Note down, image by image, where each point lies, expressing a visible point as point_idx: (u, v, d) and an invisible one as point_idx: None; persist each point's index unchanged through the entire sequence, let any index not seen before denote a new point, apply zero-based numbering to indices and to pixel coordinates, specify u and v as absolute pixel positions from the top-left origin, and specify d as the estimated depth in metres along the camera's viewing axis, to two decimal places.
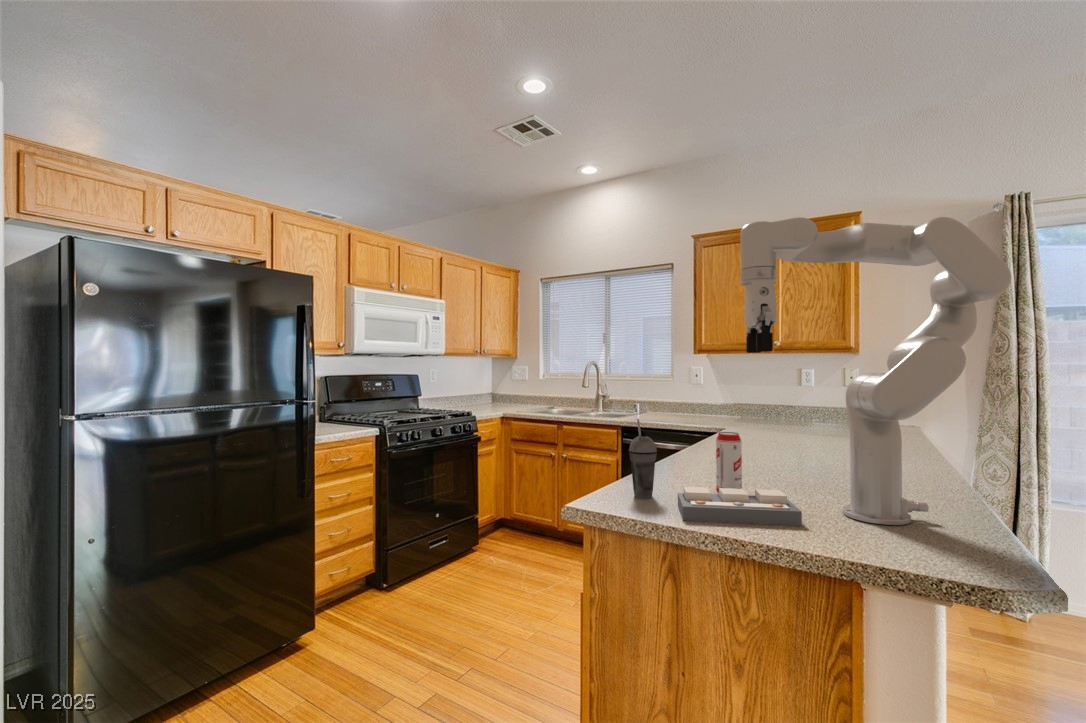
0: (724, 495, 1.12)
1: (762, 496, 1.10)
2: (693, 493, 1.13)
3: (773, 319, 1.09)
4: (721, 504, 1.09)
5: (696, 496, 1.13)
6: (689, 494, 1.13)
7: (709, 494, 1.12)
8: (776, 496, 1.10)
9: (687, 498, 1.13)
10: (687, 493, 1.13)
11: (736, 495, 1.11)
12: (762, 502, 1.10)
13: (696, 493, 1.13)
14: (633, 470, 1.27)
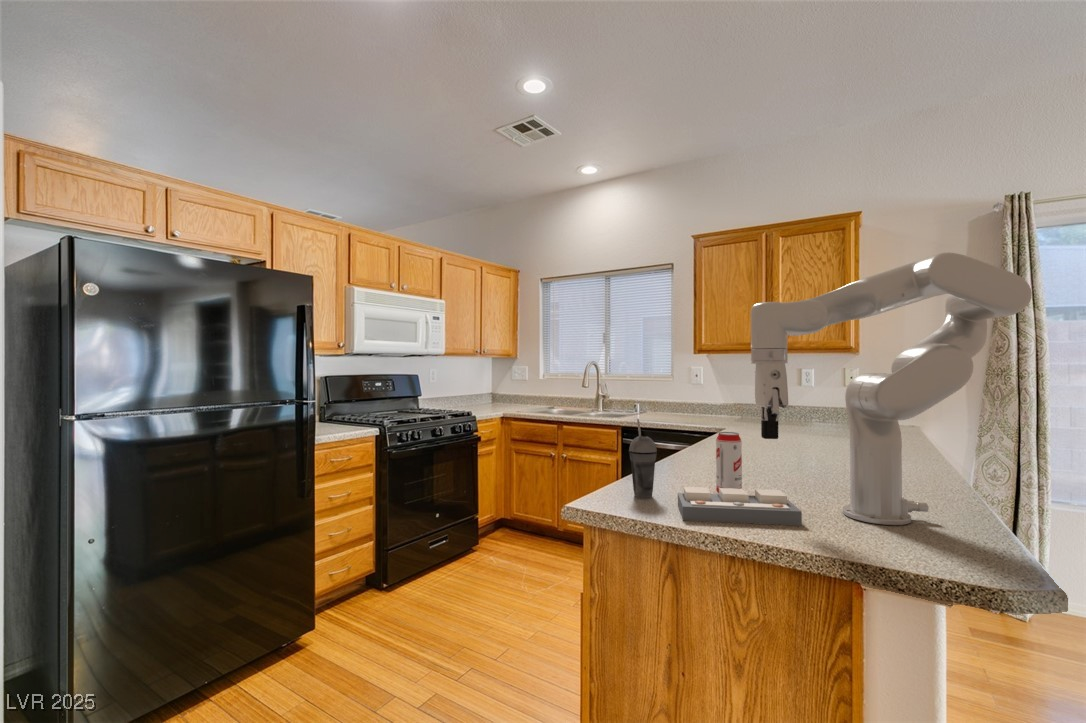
0: (724, 495, 1.12)
1: (762, 496, 1.10)
2: (693, 493, 1.13)
3: (785, 403, 1.08)
4: (721, 504, 1.09)
5: (696, 496, 1.13)
6: (689, 494, 1.13)
7: (709, 494, 1.12)
8: (776, 496, 1.10)
9: (687, 498, 1.13)
10: (687, 493, 1.13)
11: (736, 495, 1.11)
12: (762, 502, 1.10)
13: (696, 493, 1.13)
14: (633, 470, 1.27)
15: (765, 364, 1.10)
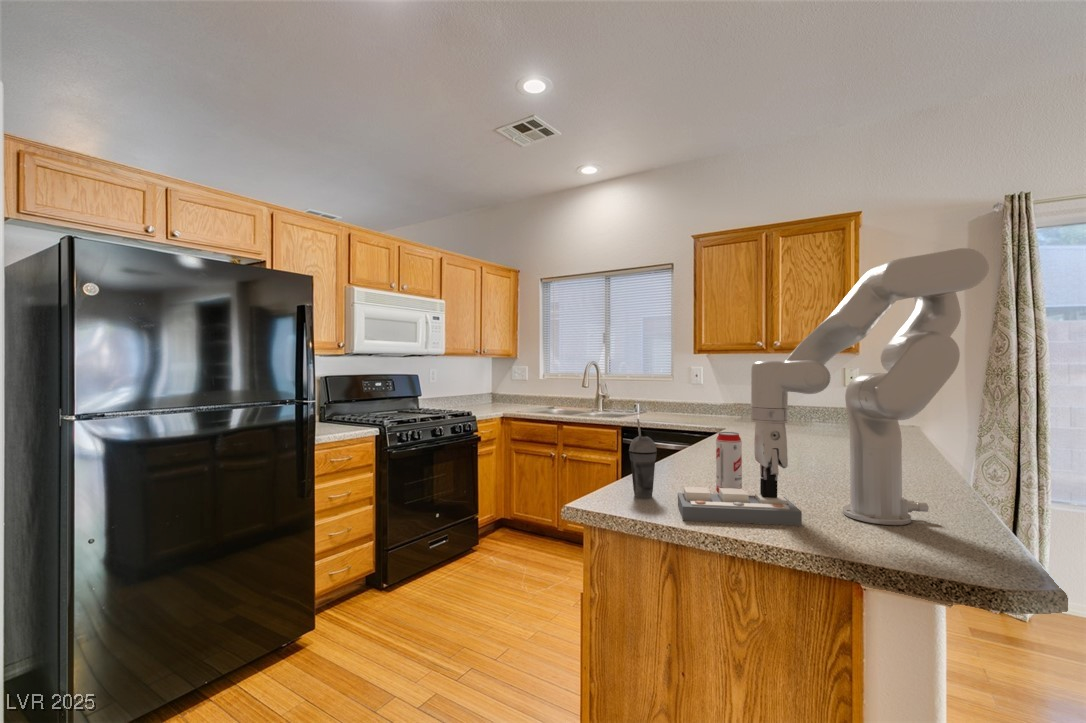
0: (724, 495, 1.12)
1: (762, 500, 1.10)
2: (693, 493, 1.13)
3: (784, 464, 1.08)
4: (721, 504, 1.09)
5: (696, 496, 1.13)
6: (689, 494, 1.13)
7: (709, 494, 1.12)
8: (776, 500, 1.10)
9: (687, 498, 1.13)
10: (687, 493, 1.13)
11: (736, 495, 1.11)
12: None
13: (696, 493, 1.13)
14: (633, 470, 1.27)
15: (765, 424, 1.09)
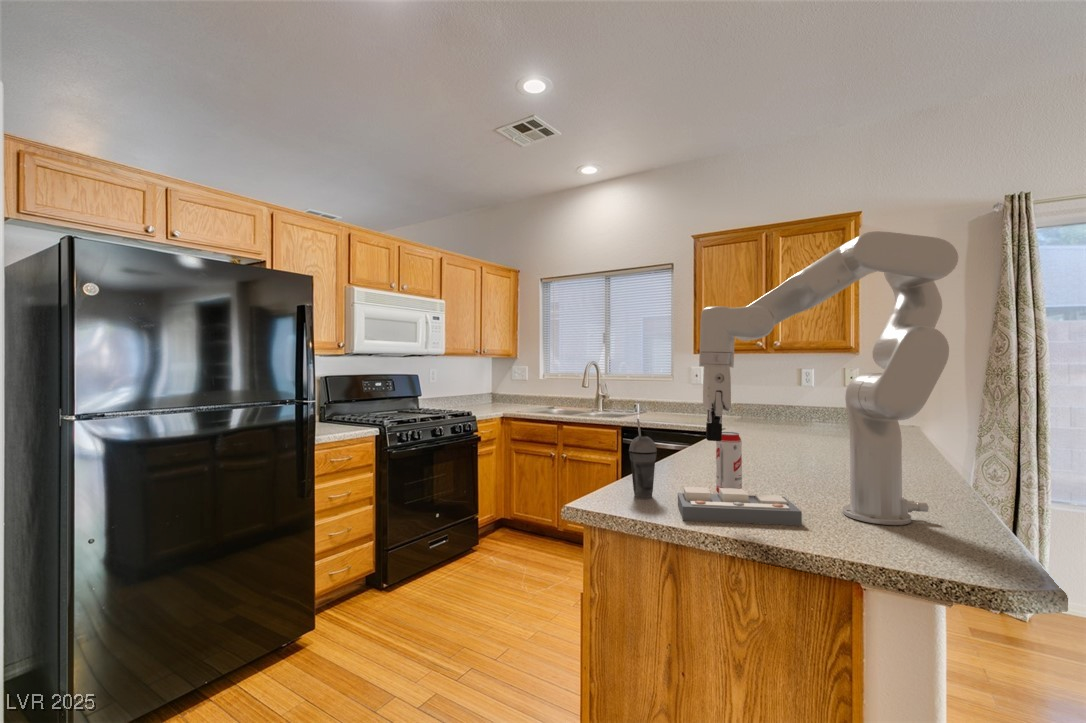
0: (724, 495, 1.12)
1: (762, 501, 1.10)
2: (693, 493, 1.13)
3: (727, 406, 1.10)
4: (721, 504, 1.09)
5: (696, 496, 1.13)
6: (689, 494, 1.13)
7: (709, 494, 1.12)
8: (776, 501, 1.10)
9: (687, 498, 1.13)
10: (687, 493, 1.13)
11: (736, 495, 1.11)
12: None
13: (696, 493, 1.13)
14: (633, 470, 1.27)
15: (710, 367, 1.12)
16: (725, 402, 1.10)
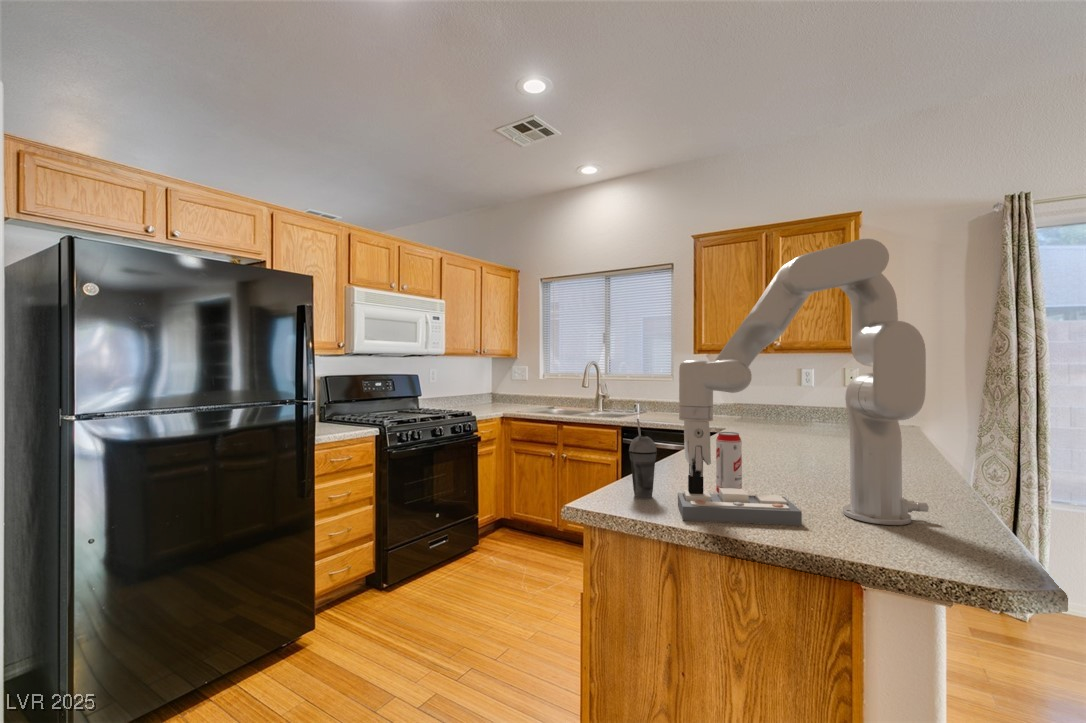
0: (724, 495, 1.12)
1: (762, 501, 1.10)
2: (693, 496, 1.13)
3: (707, 461, 1.10)
4: (721, 504, 1.09)
5: (696, 499, 1.13)
6: (689, 497, 1.13)
7: (709, 497, 1.12)
8: (776, 501, 1.10)
9: None
10: (687, 496, 1.13)
11: (736, 495, 1.11)
12: None
13: (696, 496, 1.13)
14: (633, 470, 1.27)
15: (689, 422, 1.12)
16: (705, 457, 1.10)
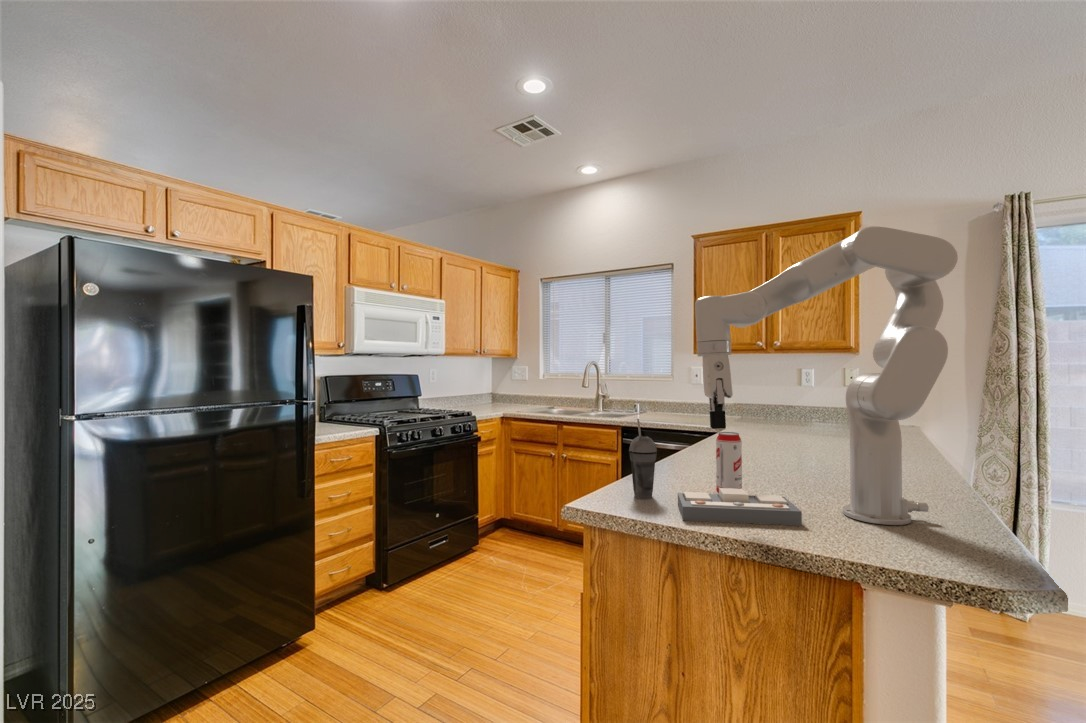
0: (724, 495, 1.12)
1: (762, 501, 1.10)
2: (693, 498, 1.13)
3: (729, 393, 1.11)
4: (721, 504, 1.09)
5: None
6: (689, 499, 1.13)
7: (709, 499, 1.12)
8: (776, 501, 1.10)
9: None
10: (687, 498, 1.13)
11: (736, 495, 1.11)
12: None
13: (696, 498, 1.13)
14: (633, 470, 1.27)
15: (709, 356, 1.13)
16: (726, 389, 1.11)
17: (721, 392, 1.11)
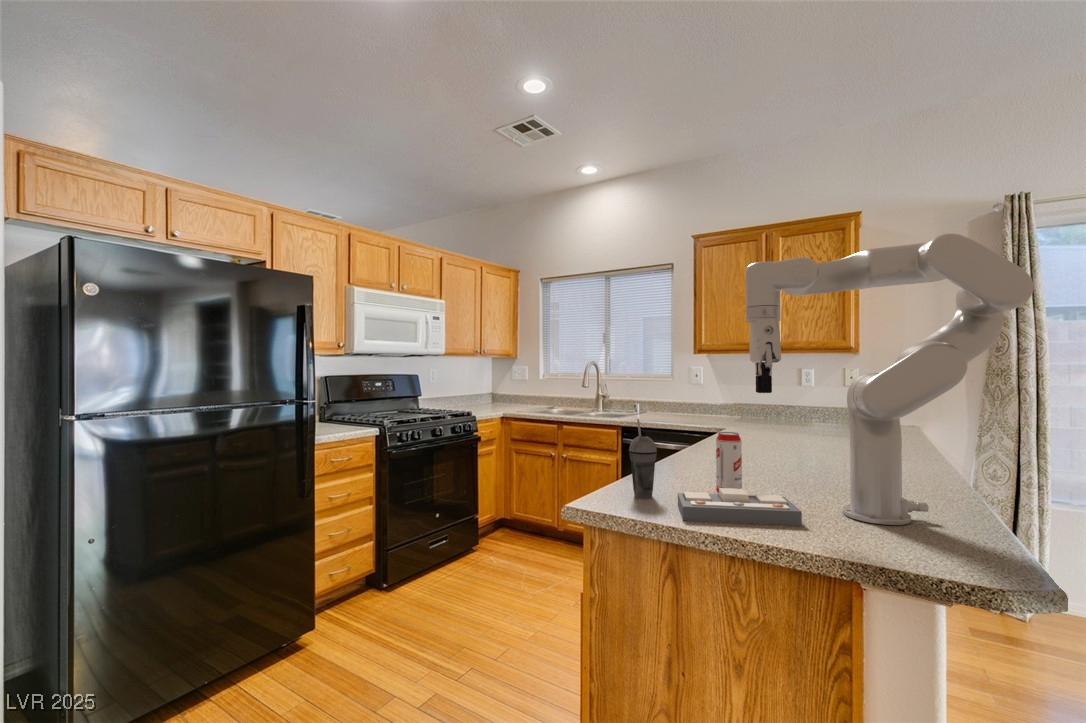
0: (724, 495, 1.12)
1: (762, 501, 1.10)
2: (693, 498, 1.13)
3: (777, 357, 1.13)
4: (721, 504, 1.09)
5: None
6: (689, 499, 1.13)
7: (709, 499, 1.12)
8: (776, 501, 1.10)
9: None
10: (687, 498, 1.13)
11: (736, 495, 1.11)
12: None
13: (696, 498, 1.13)
14: (633, 470, 1.27)
15: (759, 320, 1.15)
16: (775, 353, 1.13)
17: (770, 356, 1.13)
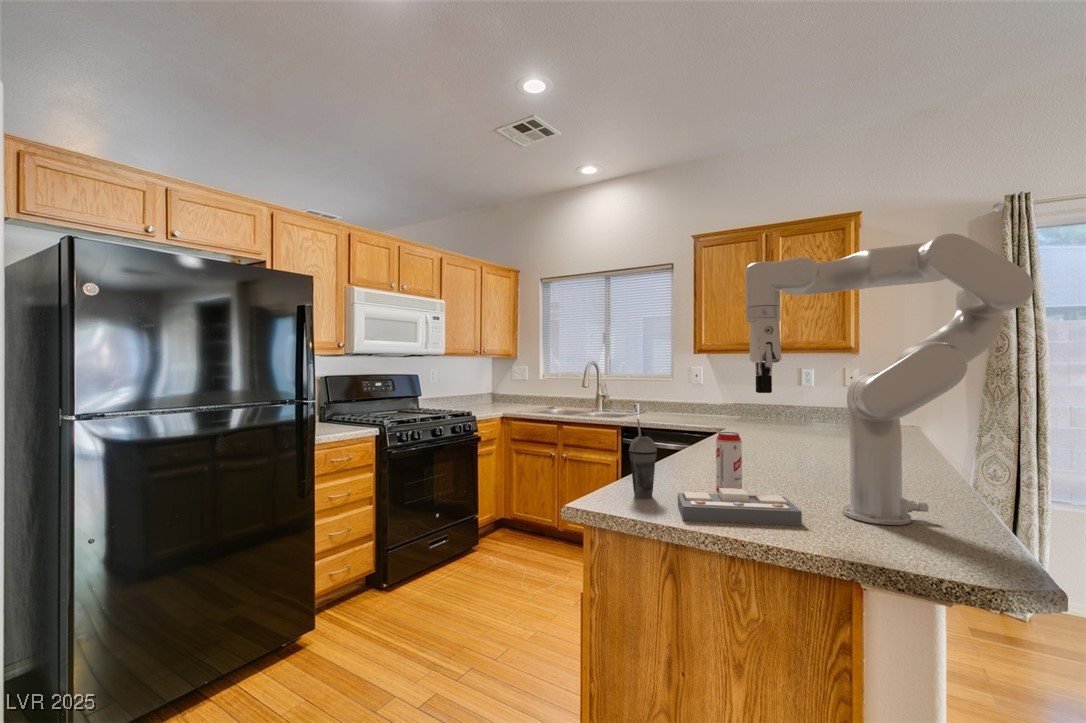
0: (724, 495, 1.12)
1: (762, 501, 1.10)
2: (693, 498, 1.13)
3: (777, 357, 1.13)
4: (721, 504, 1.09)
5: None
6: (689, 499, 1.13)
7: (709, 499, 1.12)
8: (776, 501, 1.10)
9: None
10: (687, 498, 1.13)
11: (736, 495, 1.11)
12: None
13: (696, 498, 1.13)
14: (633, 470, 1.27)
15: (759, 320, 1.15)
16: (775, 353, 1.13)
17: (770, 356, 1.13)
